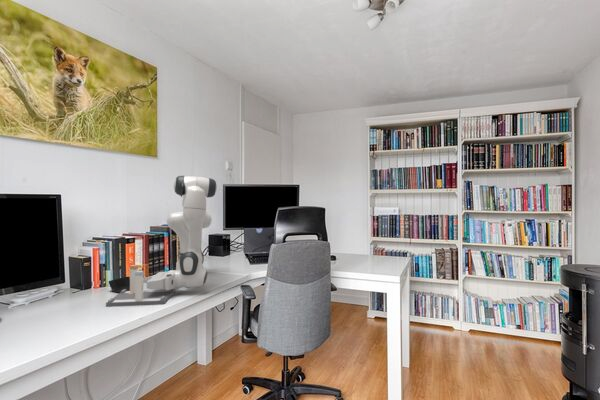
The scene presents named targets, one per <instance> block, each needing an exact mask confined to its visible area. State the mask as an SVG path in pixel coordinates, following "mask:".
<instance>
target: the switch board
mask: <svg viewBox="0 0 600 400" xmlns="http://www.w3.org/2000/svg"><path fill="white" fill-rule="evenodd" d="M174 293H175V289H171V290H165V289H161V290H156V289H148V290H145V289H143V300H142V301H135V292H130V291H126V289H123V290H122V291H121V293H119V294H118V293H117V294H116V295H115V296H114V297H111V298H110V299H108V300H107V302H106V303H105V307H109V308H110V307H125V306H127V307H129V306H150V305H153V306H154V305H165V304H166V303H167V302H168V300H169V299H170V298H171V297H172V295H174Z"/></svg>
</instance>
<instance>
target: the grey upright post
mask: <svg viewBox="0 0 600 400" xmlns="http://www.w3.org/2000/svg"><path fill="white" fill-rule="evenodd" d="M138 269H139V264H131V265H130V266H129V278H130V292H135V272H136V271H138Z"/></svg>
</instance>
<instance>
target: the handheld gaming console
mask: <svg viewBox="0 0 600 400" xmlns="http://www.w3.org/2000/svg"><path fill="white" fill-rule="evenodd" d="M108 285H109V287H110V289H111V291H112V292H111V293H114V294H117V295H118V294H119V293H121V291H122V290H123V289H126V291H130V276H124V277H121V278H116V279H112V280H108Z"/></svg>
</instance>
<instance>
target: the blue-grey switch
mask: <svg viewBox="0 0 600 400" xmlns="http://www.w3.org/2000/svg"><path fill="white" fill-rule="evenodd" d="M144 274H145V273H144V270H137V271H136V272H135V301H142V300H143V290H144V283H143V278H144Z"/></svg>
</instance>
